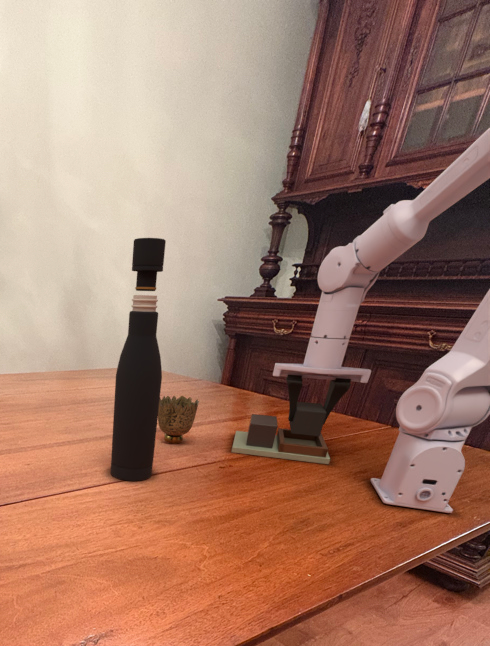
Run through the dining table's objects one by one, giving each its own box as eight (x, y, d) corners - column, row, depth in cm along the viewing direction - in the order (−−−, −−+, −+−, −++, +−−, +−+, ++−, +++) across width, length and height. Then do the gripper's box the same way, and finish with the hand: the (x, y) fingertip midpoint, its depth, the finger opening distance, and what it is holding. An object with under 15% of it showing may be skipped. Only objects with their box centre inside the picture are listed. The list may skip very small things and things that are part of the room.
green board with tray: (328, 464, 72) (338, 435, 70) (231, 452, 77) (236, 424, 74) (321, 445, 82) (329, 419, 80) (235, 435, 87) (240, 410, 84)
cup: (146, 438, 83) (150, 396, 79) (177, 434, 86) (182, 394, 82) (168, 449, 77) (173, 404, 73) (200, 445, 80) (207, 401, 76)
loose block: (319, 436, 73) (326, 413, 71) (291, 433, 74) (297, 410, 72) (315, 425, 79) (321, 403, 77) (289, 422, 80) (294, 401, 78)
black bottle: (150, 483, 63) (176, 236, 48) (107, 479, 64) (120, 236, 49) (152, 468, 68) (176, 242, 54) (113, 465, 69) (126, 242, 55)
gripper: (375, 338, 70) (347, 421, 77) (281, 334, 74) (263, 412, 81) (384, 341, 64) (354, 430, 71) (282, 336, 69) (263, 421, 75)
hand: (306, 421), depth 76 cm, fingers closed on loose block, 4 cm apart
